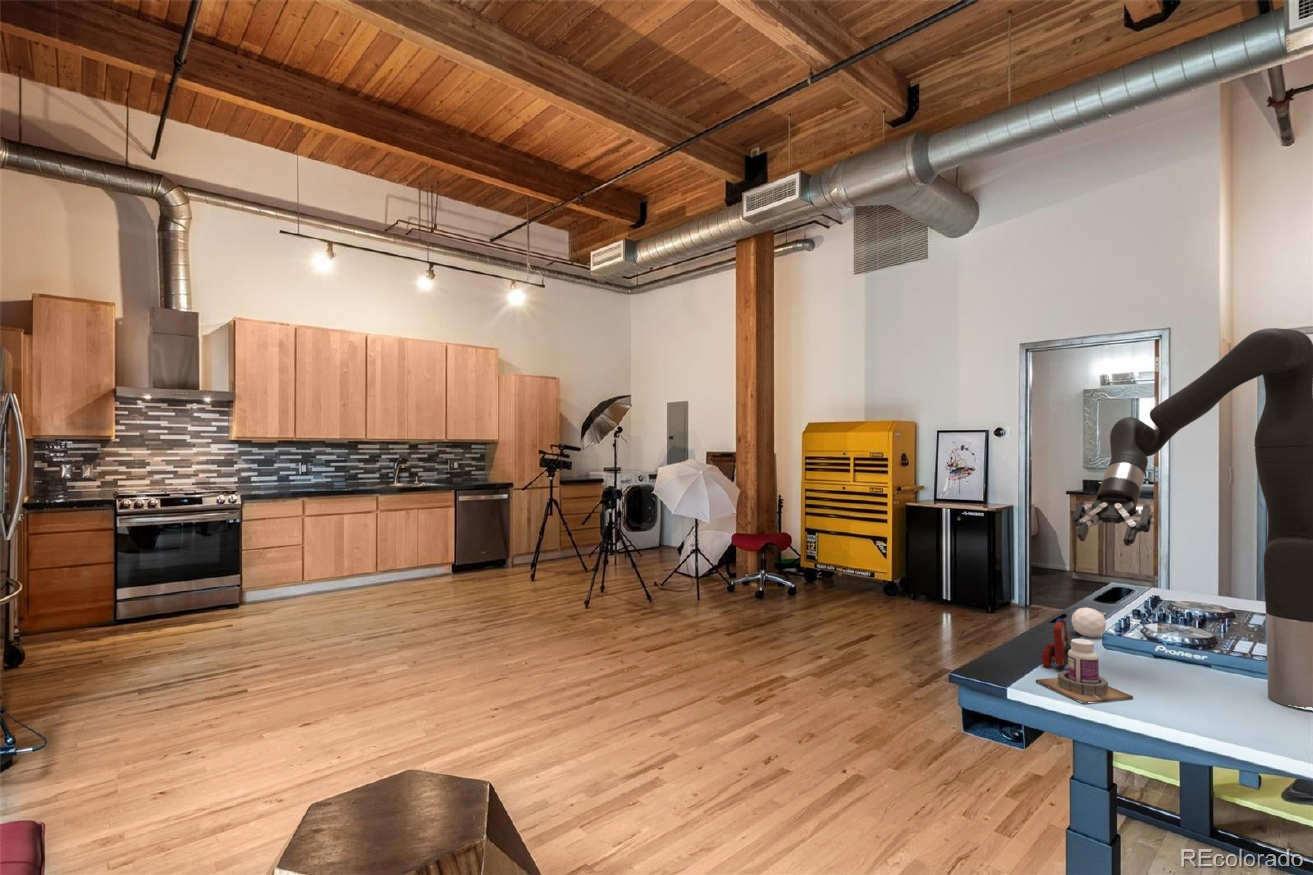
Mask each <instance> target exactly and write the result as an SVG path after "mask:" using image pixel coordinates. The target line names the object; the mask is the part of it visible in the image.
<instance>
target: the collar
mask: <svg viewBox="0 0 1313 875" xmlns="http://www.w3.org/2000/svg"><path fill="white" fill-rule="evenodd" d="M1036 682H1039V683H1040V684H1042V685H1044V686H1046V687H1045V688H1047V687H1049V688H1050V689H1049V688H1048V689H1049V690H1051V689H1052V690H1051V691H1053V690H1054V691H1053V692H1055V691H1057V692H1059V693H1058V694H1060V693H1061V694H1060V695H1061V696H1064V697H1066V696H1068V697H1071V698H1073V699H1076V700H1079V701H1081V702H1083V703H1088V702H1102V703H1109V701H1111V702H1117V701H1116V700H1120V701H1127V700H1128V701H1129V700H1133V699H1134V695H1131V694H1128V693H1126V692H1124V691H1122V690H1119V689H1117V688H1114V687H1112V686H1109V683H1108V680H1107V679H1106V678H1104V677H1101V676H1099V684H1086V683H1080V682H1075V681H1072V680H1070V679H1069V671H1068V670H1063V671H1060V672H1058V673H1057V677H1051V678H1049V677H1048V678H1040V679H1039V678H1038V679H1035V683H1036ZM1040 684H1039V685H1040ZM1042 685H1041V686H1042ZM1044 686H1043V687H1044ZM1057 692H1056V693H1057ZM1068 697H1067V698H1068ZM1073 699H1072V700H1073ZM1107 701H1108V702H1107Z"/></svg>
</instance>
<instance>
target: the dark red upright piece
mask: <svg viewBox="0 0 1313 875" xmlns="http://www.w3.org/2000/svg"><path fill="white" fill-rule="evenodd" d="M1052 630H1053V643H1054V644H1053V643H1049V642H1048V643H1046V648H1043V649H1042V653H1041V654H1042V655H1041V658H1042V659H1041V660H1042V662H1041V663H1042V666H1044V667H1048V668H1051V667H1052V664H1053V663H1052V662H1055V665H1058V666H1065V664H1068V651H1069V650H1070V649H1072V646H1071V643H1070V644H1069V642H1071V639H1070V637H1069V634H1068V630H1067V622H1066V621H1065V619H1063V618H1057V619H1056V620H1055V624H1054V625H1053V629H1052Z"/></svg>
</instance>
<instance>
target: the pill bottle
mask: <svg viewBox="0 0 1313 875" xmlns="http://www.w3.org/2000/svg"><path fill="white" fill-rule="evenodd" d="M1070 645H1071V648H1072V649H1070V650H1069V651H1068V663H1067V666H1068V670H1067V671H1069V679H1070V680H1072V681H1075V682H1080V683H1086V684H1099V677H1100V669H1099V668H1100V666H1099V655H1098V654H1097V652H1095V651H1094V650H1095V643H1094V642H1093V641H1091V640H1088V639H1083V638H1073V639H1070Z"/></svg>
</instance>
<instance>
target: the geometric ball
mask: <svg viewBox="0 0 1313 875" xmlns="http://www.w3.org/2000/svg"><path fill="white" fill-rule="evenodd" d="M1071 624H1072V627H1073V629H1074V630H1075V631H1076V632H1077V633H1078V634H1080V636H1081V635H1082V636H1083V637H1087V636H1088V638H1090V637H1091V639H1092V638H1097V637H1100V636H1101V635H1102V634H1104V632H1106V628H1107V622H1106V619H1105V616H1104V614H1102V613H1101V612H1099V611H1098V610H1096V609H1094V608H1092V607H1091V608H1090V607H1080V608H1077V609H1076V610H1075V611H1074V612H1073V613H1072V616H1071Z"/></svg>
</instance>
